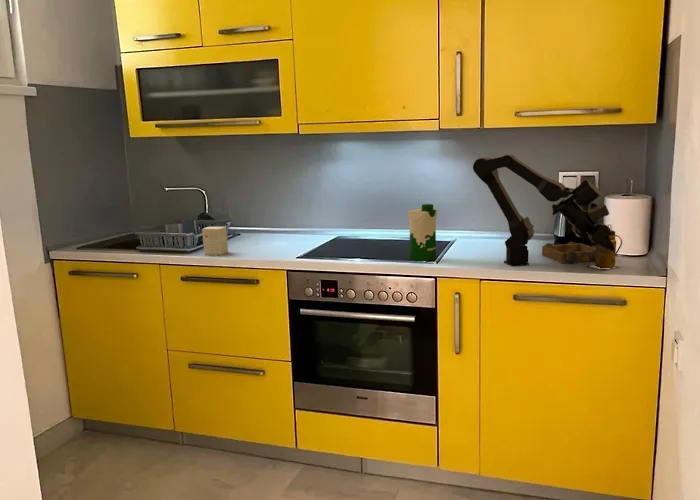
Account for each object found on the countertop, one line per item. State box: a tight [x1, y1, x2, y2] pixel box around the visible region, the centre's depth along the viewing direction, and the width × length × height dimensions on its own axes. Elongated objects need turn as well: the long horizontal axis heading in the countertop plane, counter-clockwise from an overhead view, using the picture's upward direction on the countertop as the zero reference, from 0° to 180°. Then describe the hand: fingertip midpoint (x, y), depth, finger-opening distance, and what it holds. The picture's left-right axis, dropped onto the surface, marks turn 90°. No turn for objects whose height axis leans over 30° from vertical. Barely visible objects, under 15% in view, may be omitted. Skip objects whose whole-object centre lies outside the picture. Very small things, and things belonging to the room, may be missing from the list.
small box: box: [201, 226, 229, 256], centre depth 247 cm, size 8×6×10 cm
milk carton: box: [407, 203, 438, 262], centre depth 222 cm, size 9×9×20 cm
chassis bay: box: [541, 241, 596, 264], centre depth 218 cm, size 15×16×4 cm
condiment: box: [585, 229, 617, 268], centre depth 202 cm, size 7×8×12 cm
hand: (607, 246), depth 202 cm, fingers open, 9 cm apart
